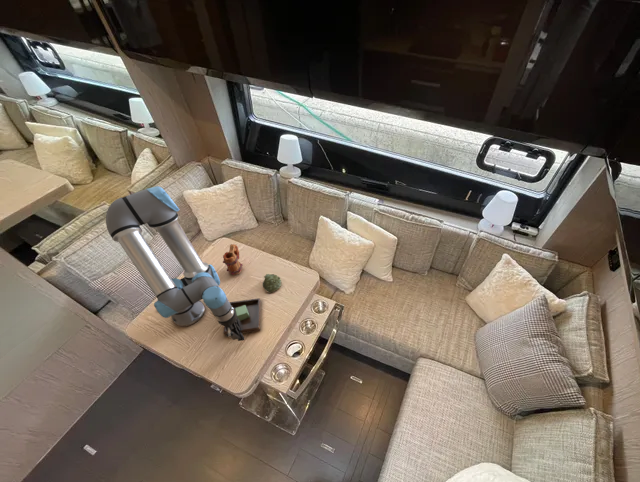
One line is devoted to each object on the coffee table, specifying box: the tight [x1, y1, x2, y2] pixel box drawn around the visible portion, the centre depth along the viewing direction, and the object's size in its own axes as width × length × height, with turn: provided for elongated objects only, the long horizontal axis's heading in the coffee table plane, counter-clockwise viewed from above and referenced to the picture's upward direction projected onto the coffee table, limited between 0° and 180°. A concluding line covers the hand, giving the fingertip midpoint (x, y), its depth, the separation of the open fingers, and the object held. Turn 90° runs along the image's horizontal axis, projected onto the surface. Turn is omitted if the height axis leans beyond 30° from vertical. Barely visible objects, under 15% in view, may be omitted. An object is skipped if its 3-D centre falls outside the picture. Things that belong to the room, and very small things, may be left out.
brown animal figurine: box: [222, 243, 243, 276], centre depth 159 cm, size 15×8×15 cm, turn 179°
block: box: [235, 305, 249, 321], centre depth 141 cm, size 5×5×5 cm
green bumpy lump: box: [262, 273, 282, 294], centre depth 156 cm, size 10×7×10 cm
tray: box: [222, 297, 262, 336], centre depth 142 cm, size 17×18×3 cm
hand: (241, 339), depth 133 cm, fingers closed
